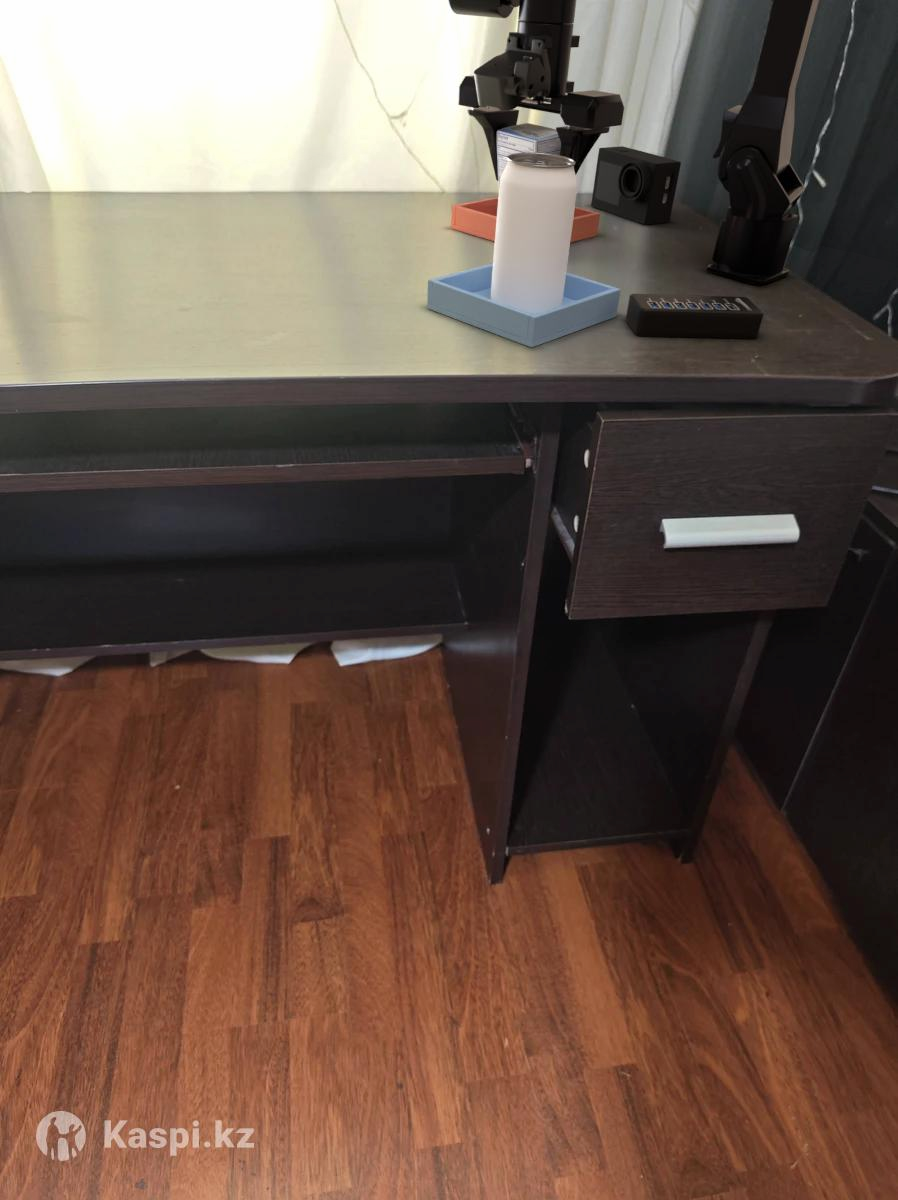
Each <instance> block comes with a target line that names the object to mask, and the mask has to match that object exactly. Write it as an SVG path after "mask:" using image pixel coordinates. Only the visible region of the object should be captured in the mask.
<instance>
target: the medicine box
mask: <svg viewBox="0 0 898 1200" xmlns="http://www.w3.org/2000/svg"><path fill="white" fill-rule="evenodd" d="M560 150H561V141H560V139H559V136H558V133H557V131H556V128H552V127H548V126H543V125H538V124H535V123H534V124H533V123H529V122H525V123H520V124H517V125H514V126H509V127H506V128H503V129H500V130H497V158H498V181H497V182H498V187H499V186H500V178H501V175H502V173H503V171H504V169H505V167H506V165H507V162H508V160H507V156H508V155H510V154H515V153H546V154H554V155H560Z"/></svg>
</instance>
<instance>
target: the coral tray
mask: <svg viewBox="0 0 898 1200" xmlns="http://www.w3.org/2000/svg"><path fill="white" fill-rule="evenodd" d="M498 197H499V196H496V197H490V198H489V197H488V198H485V199H480V200H474V201H469V202H464V203H459V204H454V205H452V206H451V219H450V220H451V221H450V223H451V224H450V229H452V230H455V231H459V232H462V233H464V234H468V235H472V236H475V237H478V238H481V239H485V240H488V241H491V242H494V243H495V232H496V220H497V208H498ZM600 219H601V212H597V211H594V210H590V209H586V208H583V207H579V206H575V210H574V218H573V226H572V233H571V241H570V244H571V243H575V242H578V241H583V240H586V239H590V238H593V237H598V233H599V232H598V231H599V226H600Z"/></svg>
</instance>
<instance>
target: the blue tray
mask: <svg viewBox="0 0 898 1200" xmlns="http://www.w3.org/2000/svg"><path fill="white" fill-rule="evenodd" d="M492 270H493V262H492V263H488V264H484V265H480V266H477V267H474V268H469V269H465V270H462V271H457V272H454V273H449V274H445V275H442V276H439V277H434V278H431V279H428V280H427V298H426V309H428V310H431V311H434V312H436V313H439V314H440V315H441V314H442V315H443V316H446V317H449V318H452V319H455V320H457V321H460V322H463V323H465V324H468V325H470V326H473V327H476V328H479V329H481V330H484V331H486V332H489V333H491V334H494V335H497V336H499V337H501V338H505V339H507V340H510V341H513V342H516V343H517V344H520V345H523V346H526V347H529V348H535V347H537V346H540V345H544V344H545V343H549V342H552V341H554V340H557V339H560V338H562V337H564V336H568V335H571V334H573V333H576V332H578V331H582V330H584V329H586V328H589V327H592V326H595V325H597V324H601V323H603V322H607V321H608V320H611V319H615V318H616V317H617V314H618V308H619V303H620V297H621V291H622V289H621V288H619V287H615V286H613V285H609V284H606V283H603V282H599V281H596V280H593V279H590V278H586V277H584V276H580V275H577V274H574V273H570V272H567V271H566V278H565V285H564V292H563V299H562V305H561V306H558V307H555V308H552V309H549V310H546V311H543V312H540V313H537V314H534V315H533V314H531V313H528V312H525V311H523V310H520V309H517V308H514V307H511V306H508V305H506V304H503V303H500V302H497V301H494V300H491V283H492Z"/></svg>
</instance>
